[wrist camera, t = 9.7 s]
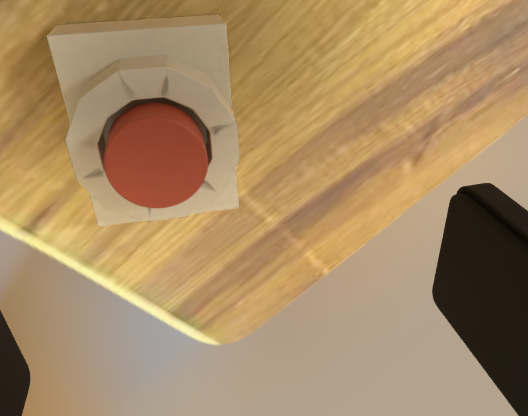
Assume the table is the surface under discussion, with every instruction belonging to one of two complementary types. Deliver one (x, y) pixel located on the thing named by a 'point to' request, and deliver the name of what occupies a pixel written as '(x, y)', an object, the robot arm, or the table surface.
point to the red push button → (155, 155)
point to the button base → (147, 101)
